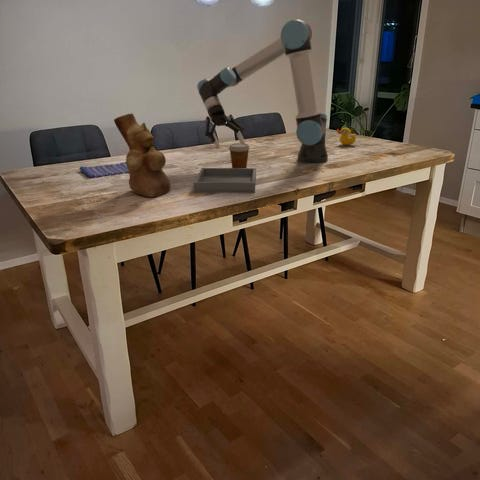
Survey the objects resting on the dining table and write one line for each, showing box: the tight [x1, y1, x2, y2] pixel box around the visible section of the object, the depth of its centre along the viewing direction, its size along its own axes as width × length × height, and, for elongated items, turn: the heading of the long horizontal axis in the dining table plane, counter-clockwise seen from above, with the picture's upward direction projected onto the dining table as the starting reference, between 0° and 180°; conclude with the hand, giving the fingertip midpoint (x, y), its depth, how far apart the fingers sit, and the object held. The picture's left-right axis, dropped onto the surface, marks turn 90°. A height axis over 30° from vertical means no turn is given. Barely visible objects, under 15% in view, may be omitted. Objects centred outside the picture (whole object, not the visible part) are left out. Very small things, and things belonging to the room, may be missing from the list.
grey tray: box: [193, 167, 257, 194], centre depth 191 cm, size 24×24×4 cm
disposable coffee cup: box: [228, 142, 250, 168], centre depth 210 cm, size 10×10×12 cm
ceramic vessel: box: [113, 112, 172, 198], centre depth 177 cm, size 16×22×30 cm
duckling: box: [336, 127, 357, 146], centre depth 266 cm, size 11×5×10 cm, turn 62°
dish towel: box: [78, 161, 129, 179], centre depth 213 cm, size 17×24×3 cm
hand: (230, 145), depth 213 cm, fingers open, 13 cm apart
